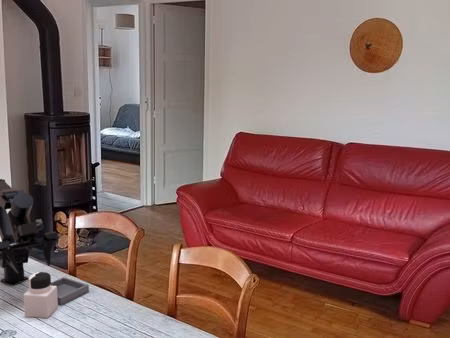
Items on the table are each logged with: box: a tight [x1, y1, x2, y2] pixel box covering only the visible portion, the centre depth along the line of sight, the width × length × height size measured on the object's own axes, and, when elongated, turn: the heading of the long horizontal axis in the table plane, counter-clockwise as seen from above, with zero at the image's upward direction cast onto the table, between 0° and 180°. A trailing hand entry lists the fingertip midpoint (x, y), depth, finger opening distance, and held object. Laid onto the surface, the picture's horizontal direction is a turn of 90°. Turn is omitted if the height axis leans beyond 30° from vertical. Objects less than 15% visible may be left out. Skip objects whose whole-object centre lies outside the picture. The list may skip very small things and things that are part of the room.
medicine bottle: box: [23, 271, 59, 319], centre depth 149 cm, size 7×7×12 cm
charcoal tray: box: [51, 276, 90, 307], centre depth 161 cm, size 12×12×2 cm
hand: (34, 268), depth 151 cm, fingers open, 9 cm apart
